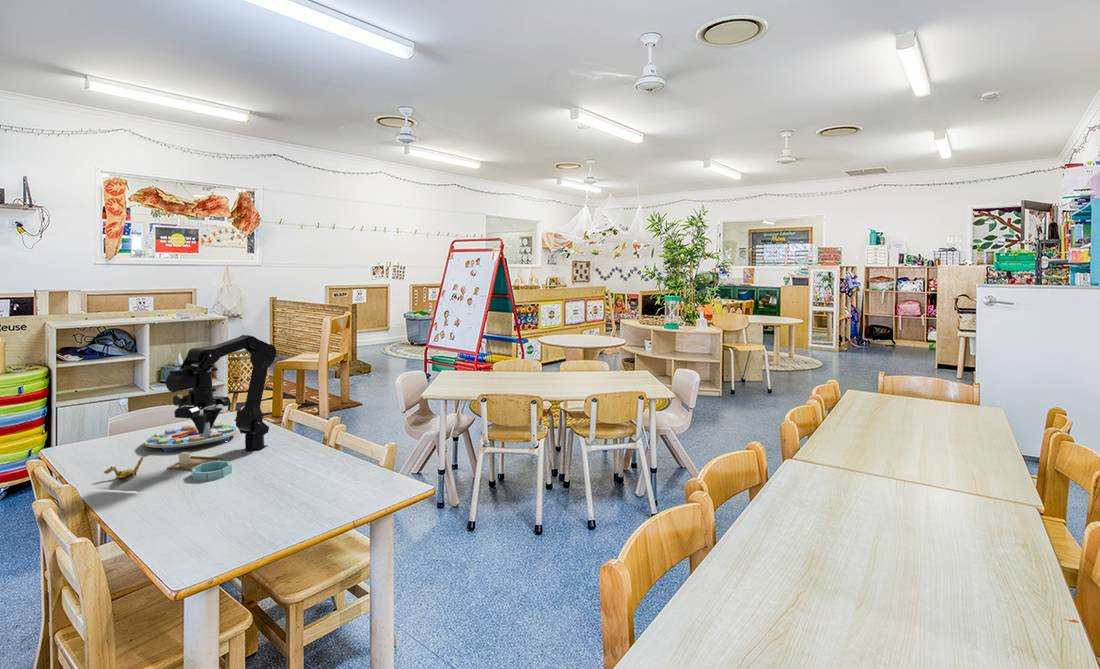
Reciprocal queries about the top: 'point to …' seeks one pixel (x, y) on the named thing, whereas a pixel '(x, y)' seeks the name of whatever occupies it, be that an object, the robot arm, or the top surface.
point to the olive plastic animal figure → (124, 472)
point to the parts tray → (195, 462)
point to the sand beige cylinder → (184, 459)
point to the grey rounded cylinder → (206, 430)
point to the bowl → (211, 470)
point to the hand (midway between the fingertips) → (204, 432)
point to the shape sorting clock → (189, 437)
